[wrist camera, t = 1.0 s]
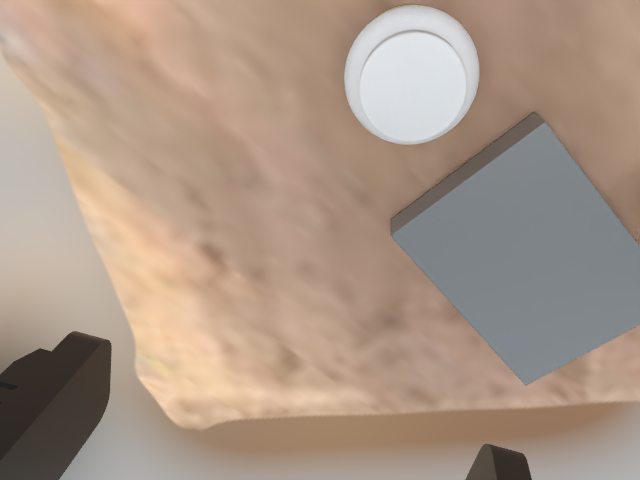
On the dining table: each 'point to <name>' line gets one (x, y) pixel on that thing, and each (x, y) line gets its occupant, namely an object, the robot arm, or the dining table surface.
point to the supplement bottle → (411, 74)
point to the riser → (527, 252)
